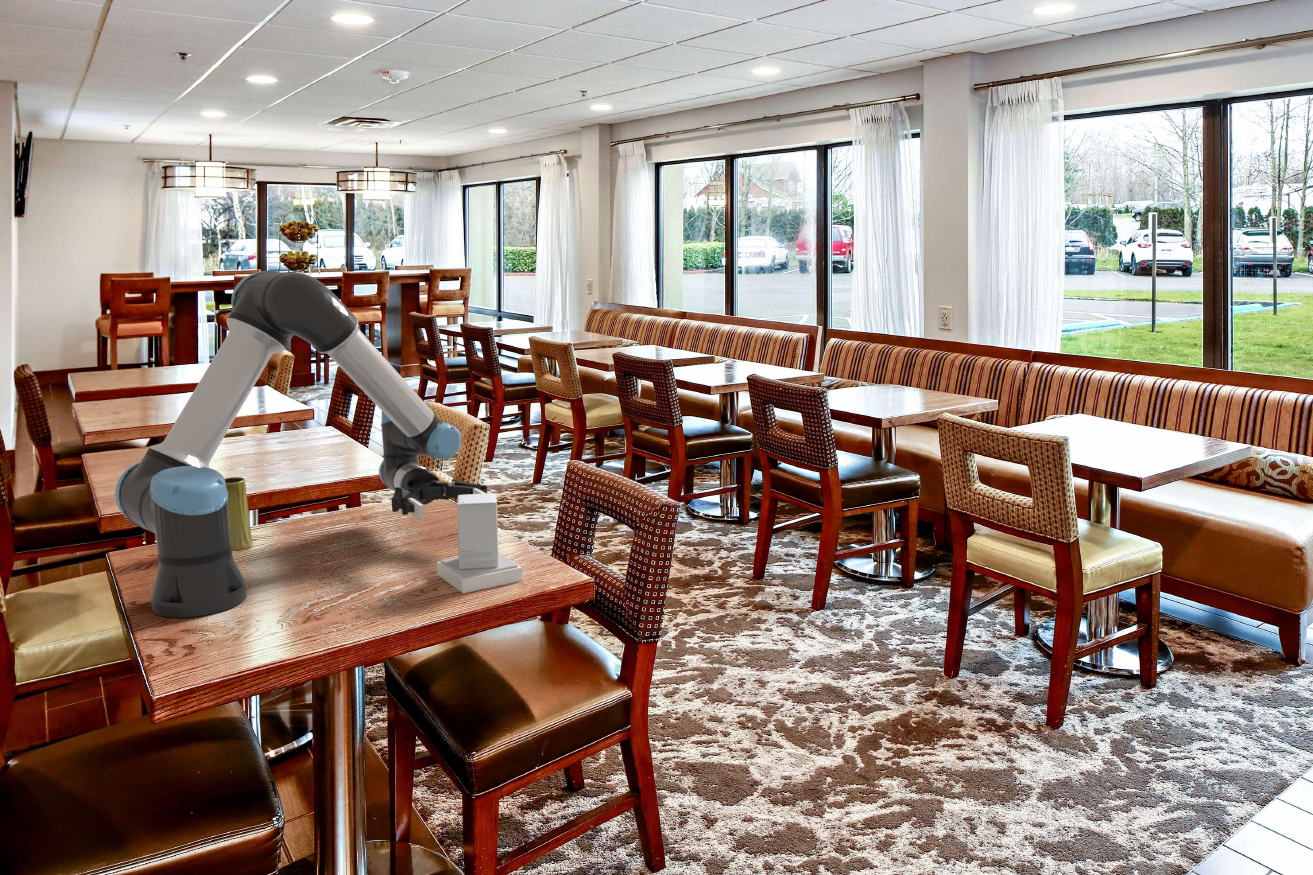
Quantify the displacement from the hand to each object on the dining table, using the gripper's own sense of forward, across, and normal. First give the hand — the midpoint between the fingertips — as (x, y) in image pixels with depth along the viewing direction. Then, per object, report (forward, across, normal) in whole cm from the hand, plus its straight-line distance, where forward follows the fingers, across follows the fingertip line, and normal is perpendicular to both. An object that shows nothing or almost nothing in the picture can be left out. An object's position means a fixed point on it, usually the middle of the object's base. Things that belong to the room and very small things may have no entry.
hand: (456, 506), depth 185 cm
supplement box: (+10, 0, -9) cm, 13 cm away
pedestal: (+10, 0, -12) cm, 15 cm away
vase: (-36, +34, -12) cm, 51 cm away
